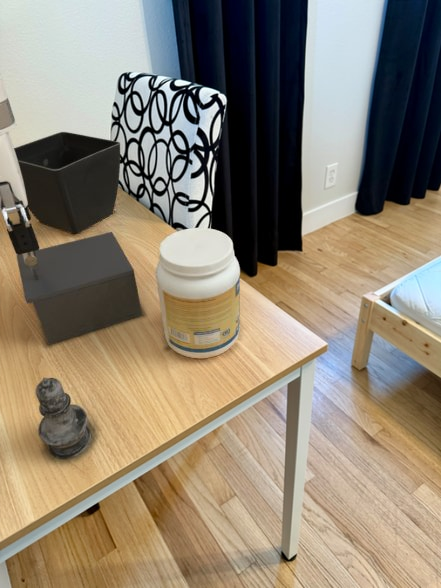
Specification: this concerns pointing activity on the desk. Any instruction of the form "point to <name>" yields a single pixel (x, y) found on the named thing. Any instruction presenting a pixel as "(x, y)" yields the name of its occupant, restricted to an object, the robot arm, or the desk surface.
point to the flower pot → (70, 179)
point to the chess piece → (61, 421)
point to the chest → (88, 309)
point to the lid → (72, 266)
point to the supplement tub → (199, 292)
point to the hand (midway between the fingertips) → (24, 235)
